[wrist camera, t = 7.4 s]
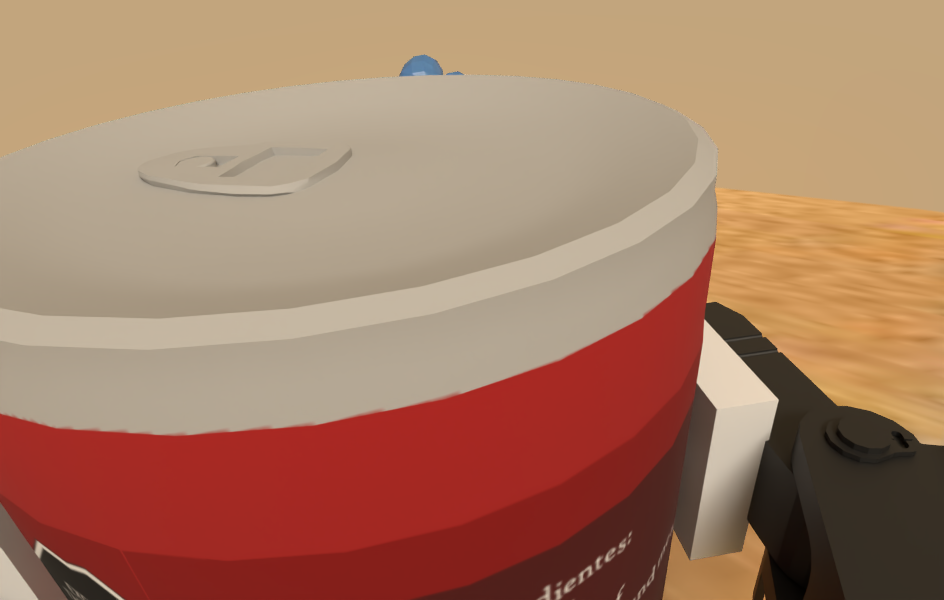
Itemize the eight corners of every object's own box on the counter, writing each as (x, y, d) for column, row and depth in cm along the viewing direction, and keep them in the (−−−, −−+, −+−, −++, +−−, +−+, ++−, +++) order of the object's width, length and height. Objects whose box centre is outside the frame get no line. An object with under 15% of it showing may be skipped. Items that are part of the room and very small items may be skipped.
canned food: (283, 537, 15) (128, 94, 10) (594, 517, 15) (616, 56, 10) (149, 984, 9) (-574, 395, 3) (700, 956, 8) (971, 286, 3)
